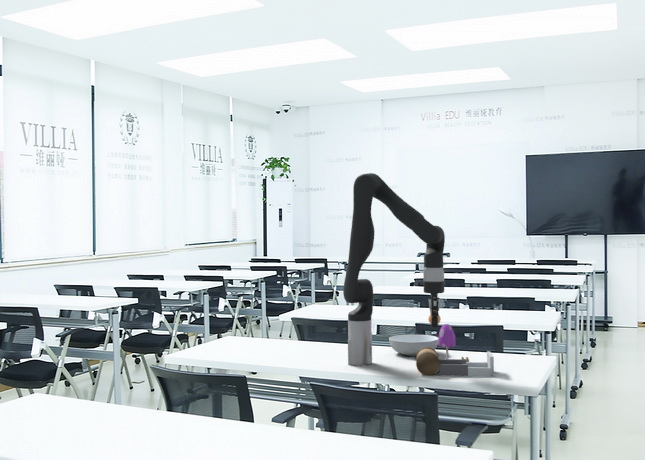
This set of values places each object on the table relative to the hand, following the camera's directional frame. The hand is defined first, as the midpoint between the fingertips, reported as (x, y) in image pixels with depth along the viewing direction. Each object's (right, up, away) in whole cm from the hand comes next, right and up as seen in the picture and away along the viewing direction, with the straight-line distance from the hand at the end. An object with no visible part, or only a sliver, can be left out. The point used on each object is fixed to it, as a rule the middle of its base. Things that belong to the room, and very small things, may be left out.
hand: (434, 326), depth 234 cm
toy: (+8, -17, +18) cm, 26 cm away
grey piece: (+11, -17, -2) cm, 20 cm away
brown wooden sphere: (-2, -17, 0) cm, 17 cm away
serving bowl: (-2, -17, +36) cm, 40 cm away
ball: (0, +3, 0) cm, 3 cm away
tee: (+12, -17, +5) cm, 22 cm away
